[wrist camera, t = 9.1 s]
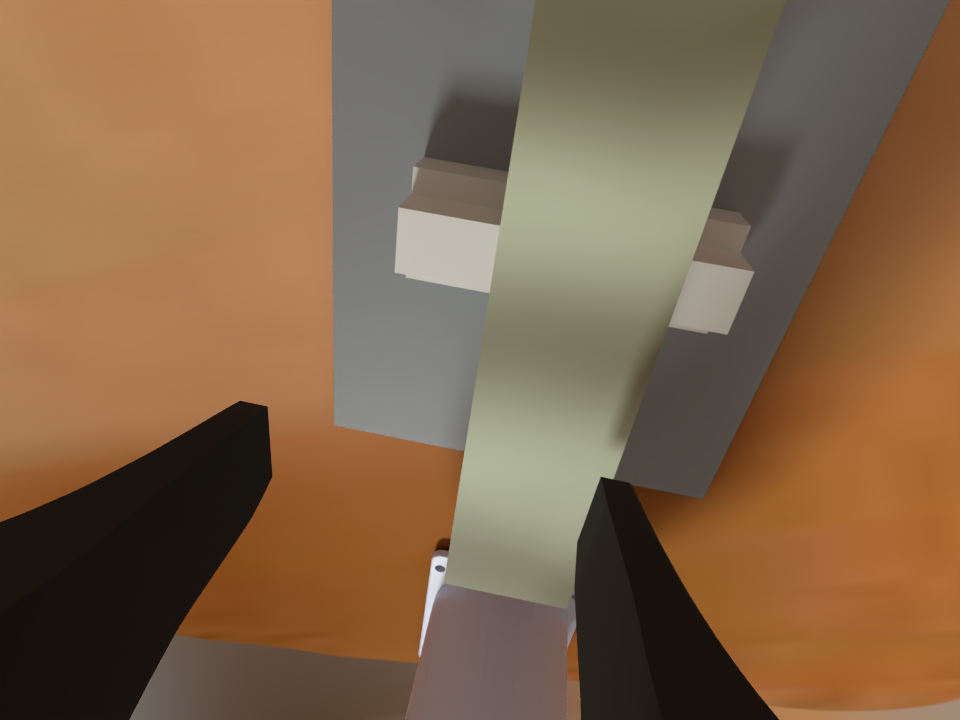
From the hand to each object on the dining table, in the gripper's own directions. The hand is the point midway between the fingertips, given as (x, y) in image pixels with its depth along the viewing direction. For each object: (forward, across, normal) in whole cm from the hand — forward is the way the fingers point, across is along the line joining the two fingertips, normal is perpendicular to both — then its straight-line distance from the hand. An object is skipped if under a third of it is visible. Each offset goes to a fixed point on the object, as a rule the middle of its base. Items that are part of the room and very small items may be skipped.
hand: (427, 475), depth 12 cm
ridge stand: (+10, -2, -3) cm, 11 cm away
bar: (+6, -2, -2) cm, 7 cm away
